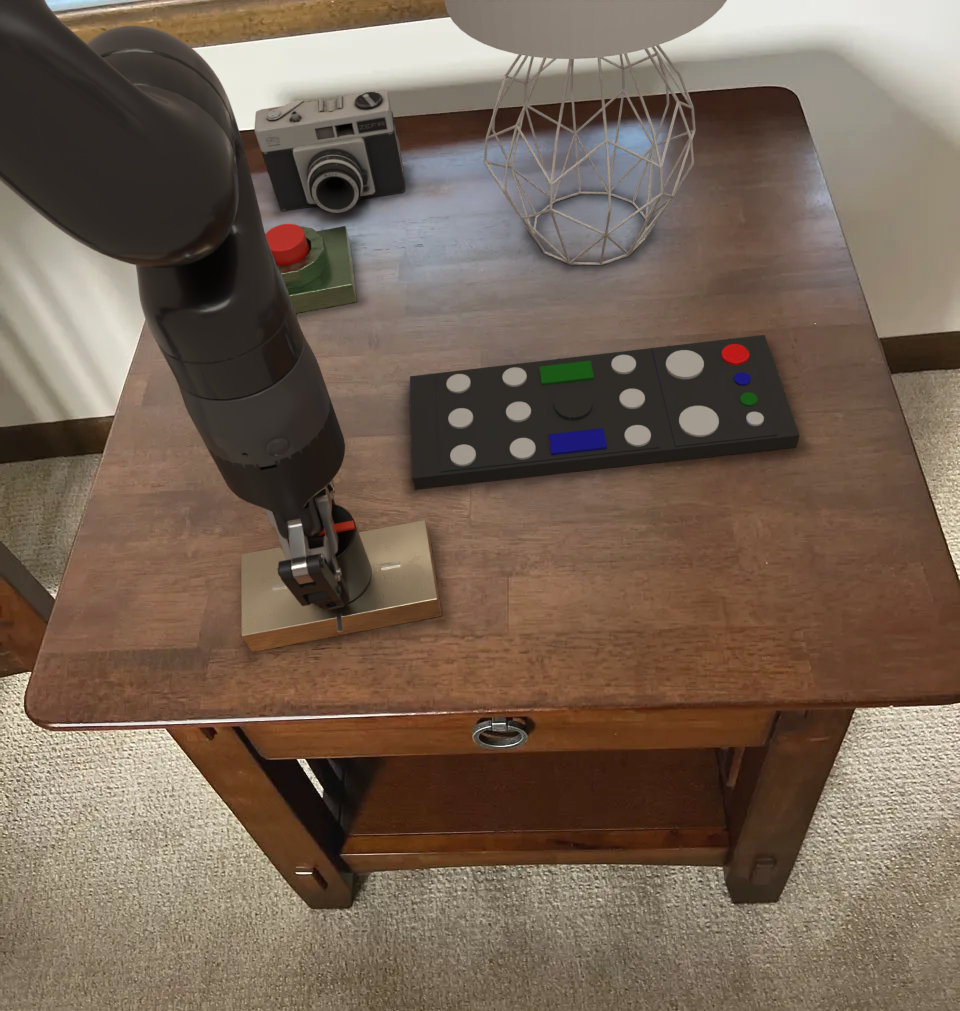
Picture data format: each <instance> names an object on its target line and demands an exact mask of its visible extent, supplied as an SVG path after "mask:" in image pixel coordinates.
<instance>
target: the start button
mask: <svg viewBox="0 0 960 1011" xmlns="http://www.w3.org/2000/svg"><path fill="white" fill-rule="evenodd" d="M301 227H302V226H299V225H298V224H296V223H295V224H294V223H282V224H278V225H276V226H273V227H272V228H270V229H269V230H267V231H266V232H265V235H266V238H267V241H268V244H269V247H270V249H271V252H272V255H273V257H274V260H275V263H276V265H279V266H284V265H290V264H295V263H297V262H299V261H300V260H302V259H304V258H305V257H306V256H307V254H308V252H309V246H308V242H307V239H306V236H305V233H304V230H303V229H302V228H301Z"/></svg>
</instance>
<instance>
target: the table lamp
mask: <svg viewBox="0 0 960 1011" xmlns="http://www.w3.org/2000/svg"><path fill="white" fill-rule="evenodd" d="M727 1H728V0H444V4H445V9H446V12H447V14H448V16H449V18H450V19H451V21H452V23H453V24H454V25H455V26H456V27H457V28H458V29H459V30H460V31H462V33H464V34H466V35H467V36H469V37H470V38H471V39H474V40H476V41H478V42H479V43H481V44H483V45H486V46H488V47H490V48H494V49H496V50H499V51H503V52H506V53H511V54H514V55H517V57H515V59H514V61H513V62H512V64H511V65H510V66H509V68H508V70H507V71H506V73H505V74H504V77H503V78H502V82H501V85H500V88H499V90H498V93H497V96H496V99H495V102H494V105H493V107H492V109H493V110H492V116H491V119H490V122H489V126H488V129H487V132H486V136H485V138H484V149H483V150H484V152H483V163H484V165H485V168H487V170H488V171H489V173H490V175H491V176H492V178H493V179H494V180H495V183H496V185H497V186H498V187H499V189H500V190H501V192H502V194H503V195H504V197H505V198H506V199H507V201H508V203H509V204H510V206H511V207H512V209H513V210H514V211H515V213H516V214H517V216H518V217H519V219H520V220H521V222H522V223H523V225H524V226H525V228H526V229H527V232H528V233H529V234H530V235H531V236H532V238H533V239H534V241H535V242H536V244H537V246H538V247H539V249H540V250H541V251H542V253H543V254H544V255H547V256H549V257H551V258H553V259H555V260H558V261H560V262H563V263H564V264H567V265H576V266H577V265H579V266H580V265H581V266H603V265H606V264H609V263H613V262H614V261H617V260H620V259H623V258H628V257H629V256H630V255H631V254H633V252H634V251H636V250H637V248H638V247H640V246H641V244H643V242H645V241H646V239H647V237H648V236H649V235H650V233H651V231H652V230H653V229H654V228H655V226H656V225H657V223H658V221H659V220H660V218H661V217H662V216H663V214H664V212H665V211H666V210H667V208H668V207H669V205H670V204H671V202H672V201H673V199H674V198H675V195H676V194H677V192H678V191H679V189H680V188H681V186H682V184H684V181H685V179H686V178H687V176H688V175H689V173H690V171H691V170H692V169H693V167H694V165H695V156H694V146H693V139H694V137H695V134H696V132H697V131H696V130H697V129H696V118H695V107H694V104H693V101H692V100H691V97H690V93H689V91H688V89H687V86H686V83H685V81H684V78H683V74H681V72H680V71H679V70H678V68H677V67H676V66H675V64H674V63H673V62H672V60H671V59H670V58H669V56H668V55H667V54H666V52H665V51H664V49H663V48H662V46H660V45H662V44H665V43H667V42H670V41H671V42H672V41H673V40H675V39H678V38H680V37H682V36H684V35H686V34H689V33H690V32H692V31H693V30H695V29H697V28H698V27H701V26H702V25H703V24H705V23H706V22H707V21H709V20H710V19H711V18H712V17H714V16H715V15H716V14H717V13H718V12H719V11H720V10H721V9H722V8H723V6H724V5H725V4H726V3H727ZM650 48H651V49H652V51H653V52H654V53H651V51H650V50H649V49H650ZM642 50H644V51H645V53H646V54H647V56H645V57H642V58H641V59H639V60H636V61H634V62H632V63H631V61H630V58H629V55H628V54H629V53H634V52H638V51H642ZM618 55H619V60H620V61H619V62H620V65H619V64H618V63H616V62H614V61H612V60H609V59H608V58H607V57H615V56H618ZM661 55H662V56H661ZM522 56H524V58H523V59H522V61H521V63H520V64H519V66H518V68H517V69H516V71H515V73H514V74H513V76H512V77H511V76H509V75H510V74H511V72H512V70H513V69H514V68H515V66H516V64H517V63H518V61H519V60H520V59H521V57H522ZM623 56H624V59H625V61H626V63H627V65H625V64H624V59H623ZM529 57H530V61H529V65H528V68H527V73H526V77H525V80H521V79H518V78H517V76H518V74H519V72H520V71H521V69H522V68H523V66H524V64H525V63H526V62H527V59H528V58H529ZM655 57H656V58H657V61H658V63H657V62H656V59H655ZM663 57H664V58H663ZM534 58H541V59H542V60H541V63H540V65H539V68H538V70H537V71H536V72H535V73H534V74H533V75H532V76H531V77H530V74H531V70H532V66H533V63H534ZM547 59H549V60H550V61H548V62H547V63H546V61H547ZM583 59H586V60H587V59H597V67H598V77H599V86H600V87H599V88H600V89H599V90H600V97H601V98H600V100H601V108H600V109H599V110H598V111H597V112H595V113H594V114H593V115H592V116H591V117H590V118H588V120H587V121H586V122H584V123H583V124H582V125H581V126H580V127H579V128H578V129H577V124H576V110H575V99H574V97H575V96H574V64H575V63H574V62H575V60H583ZM664 59H665V60H664ZM557 60H568V63H567V69H566V75H565V80H564V86H563V91H562V98H561V103H560V107H559V108H560V109H559V115H558V119H557V121H556V120H555V119H553V118H551V117H550V116H548V115H546V114H544V113H543V112H541V111H540V110H537V108H536V109H535V108H534V107H533V106H531V105H528V103H529V101H530V99H531V97H532V94H533V92H534V90H535V87H536V86H537V85H536V84H537V83H538V80H539V77H540V75H541V73H542V72H543V71H544V70H545V69H547V68H548V67H549V66H550V65H552V64H553V63H554V62H555V61H557ZM647 60H650V61H651V63H652V64H653V66H654V68H655V69H656V70H657V73H658V74H659V77H660V78H661V80H662V81H663V83H664V84H665V98H666V105H665V109H664V111H663V114H662V117H661V119H660V123H659V126H658V128H657V132H656V133H655V129H654V125H653V121H652V119H651V116H650V113H649V110H648V108H647V106H646V102H645V100H644V96H643V94H642V91H641V88H640V86H639V83H638V79H637V77H636V75H635V71H634V69H633V66H636V65H638V64H641V63H643V62H646V61H647ZM602 61H605V62H607V63H608V64H610V65H612V66H614V67H616V68H618V69H619V70H621V86H622V87H621V88H622V89H621V90H620V91H619V92H617V93H616V94H615V95H614V96H613V97H612V98H610V100H609V101H608V102H606V103H605V91H604V79H603V69H602ZM665 61H667V63H668V65H670V67H671V68H672V69H673V71H674V72H675V74H676V75H677V76H678V78H679V82H680V83H679V82H678V80H677V79H676V78H675V76H674V74H673V73H672V71H671V69H670V68H669V67H668V65H667V63H666V62H665ZM658 64H659V65H658ZM627 69H629V72H630V75H631V77H632V80H633V82H634V86H635V89H636V92H637V94H638V96H639V99H640V102H641V105H642V107H643V110H644V113H645V116H646V118H647V121H648V124H649V127H650V132H651V136H650V134H649V132H648V130H647V128H646V126H645V124H644V122H643V121H642V119H641V117H640V115H639V113H638V111H637V110H636V107H635V106H634V104H633V102H632V100H631V98H630V96H629V94H628V93H627V90H626V84H625V82H626V81H625V70H627ZM665 70H666V72H667V73H668V75H669V77H670V78H671V80H672V81H673V83H674V84H675V86H676V88H677V89H678V90H679V91H680V94H681V95H682V96H683V98H684V100H685V102H686V103H685V102H683V101H680V100H679V98H678V96H677V94H676V93H675V91H674V89H673V88H672V86H671V85H670V83H669V81H668V77H667V75H666V72H665ZM507 79H508V80H510V81H509V82H508V84H507V86H506V87H505V84H506V82H507ZM532 80H533V82H532V84H531V87H530V90H529V92H528V84H529V83H530V82H531V81H532ZM569 80H570V100H571V114H572V126H573V130H572V129H570V127H569V128H568V127H567V126H565V125H564V124H562V119H563V115H564V114H563V113H564V107H565V102H566V96H567V90H568V84H569ZM513 82H516V83H520V84H523V85H524V90H523V91H524V96H523V106H522V108H521V111H520V112H519V113H520V114H519V116H518V118H517V121H516V123H515V124H514V125H512V126H510V127H508V128H505V129H503V130H500V131H498V132H496V131H495V128H496V125H495V124H496V116H497V113H498V110H499V107H500V105H501V103H502V101H503V99H504V97H505V96H506V94H507V93H508V91H509V89H510V87H511V86H512V84H513ZM680 84H681V85H680ZM681 86H682V87H681ZM504 87H505V89H504ZM670 94H671V96H672V97H673V99H674V101H675V102H676V103H675V107H674V111H673V114H672V119H671V122H670V126H669V130H668V133H667V136H666V139H665V140H662V141H660V142H657V141H658V139H659V136H660V132H661V129H662V127H663V124H664V121H665V118H666V115H667V113H668V109H669V106H670ZM620 95H621V97H620V104H619V112H618V119H617V126H616V132H615V138H614V141H612V140H609V134H608V123H607V113H606V108H607V107H608V106H609V105H610V104H611V103H613V101H615V100H616V99H617V98H618V97H619V96H620ZM624 97H625V98H626V100H627V101H628V104H629V105H630V107H631V109H632V111H633V113H634V115H635V117H636V119H637V121H638V122H639V124H640V127H641V128H642V130H643V132H644V134H645V136H646V137H647V139H648V141H649V144H650V145H651V146H650V147H649V149H648V150H646V151H645V153H644V154H643V155H640V154H638V153H636V152H634V151H632V150H631V149H628V148H626V147H624V146H622V145H620V144H618V141H619V136H620V135H619V134H620V128H621V127H620V126H621V120H622V112H623V104H624ZM682 106H683V107H686V108H688V109H690V112H691V113H690V114H691V124H692V129H691V130H690V128H689V125H688V122H687V119H686V116H685V113H684V110H683V108H682ZM529 110H530V111H532V112H534V113H536V114H537V115H539V116H541V117H542V118H544V119H546V120H547V121H549V122H551V123H553V124H555V125H556V130H555V131H556V132H555V137H554V145H553V156H552V162H551V163H552V164H551V174H550V176H549V175H548V173H547V170H546V167H545V163H544V160H543V157H542V153H541V151H540V147H539V144H538V140H537V137H536V133H535V130H534V127H533V122H532V119H531V115H530V112H529ZM678 110H679V113H680V116H681V119H682V121H683V124H684V127H685V130H686V132H683V133H680V134H678V135H675V136H672V132H673V128H674V125H675V121H676V118H677V113H678ZM525 113H526V116H527V120H528V124H529V127H530V128H529V129H530V131H531V133H532V135H531V136H532V138H533V141H534V145H535V148H536V151H537V155H538V156H537V155H536V153H535V151H534V149H533V148H532V146H531V145H530V143H529V141H528V140H527V138H526V136H525V134H524V133H523V131H522V127H523V121H524V117H525ZM600 113H602V119H603V120H602V122H603V131H604V140H603V141H602V142H601V143H599V144H598V145H597V146H595V148H593V149H592V150H590V151H589V152H588V151H587V150H586V147H585V146H584V145H583V142H582V140H581V139H580V137H579V135H578V133H580V132H581V131H582V130H583V129H584V128H585V127H586V126H587V125H588V124H590V122H592V121H593V120H594V119H595V118H596V117H597V116H598V115H599V114H600ZM561 128H562V129H563V130H565V131H567V132H569V133H571V134H572V138H571V141H570V143H569V148H568V150H567V154H566V156H565V159H564V163H563V167H562V169H561V172H560V176H558V177H557V178H555V168H556V162H557V151H558V142H559V135H560V129H561ZM511 130H513V133H512V138H511V142H510V146H509V150H508V154H507V153H506V151H505V149H504V147H503V145H502V143H501V140H500V139H499V135H502V134H505V133H507V132H509V131H511ZM491 131H492V134H491ZM685 136H688V139H687V141H686V142H685V144H684V147H683V149H682V151H681V153H680V155H679V157H678V159H677V160H676V162H675V164H674V166H673V168H672V170H671V171H670V173H669V175H668V177H667V179H666V180H665V182H664V180H663V166H664V162H665V159H666V156H667V151H668V147H669V144H670V142H672V141H674V140H676V139H679V138H682V137H685ZM520 137H521V138H522V140H523V141H524V143H525V145H526V147H527V148H528V150H529V152H530V153H531V155H532V157H533V158H534V160H535V162H536V163H537V165H538V167H539V169H540V170H541V172H542V174H543V175H544V177H545V181H546V184H547V187H548V192H549V194H548V193H547V192H546V191H544V190H543V189H542V188H540V187H539V186H537V184H535V183H534V182H533V181H531V180H530V179H529V178H527V177H526V175H523V174H522V173H521V172H520V171H519V170H517V169H516V168H515V167H514V162H515V158H516V154H517V150H518V145H519V140H520ZM651 137H652V138H651ZM493 138H495V140H496V142H497V144H498V146H499V148H500V150H501V153H502V154H503V156H504V158H505V160H506V162H505V164H504V163H498V162H495V161H490V160H487V159H488V147H489V146H488V144H489V140H491V139H493ZM578 144H579V145H580V147H581V149H582V150H583V152H584V156H583V157H582V158H581V159H580V160H579V151H578ZM609 144H610V145H612V146H614V147H613V154H612V159H611V167H610V150H609V148H610V147H609ZM573 145H574V146H575V147H574V150H575V160H576V161H575V164H573V165H572V166H571V167H569V168H568V169H567V170H566V167H567V164H568V162H569V158H570V154H571V151H572V148H573ZM604 145H605V157H606V174H607V186H606V184H605V181H604V180H603V178H602V176H601V175H600V172H599V171H598V169H597V168H596V166H595V164H594V162H593V160H592V158H591V156H592V155H593V154H594V153H596V152H597V151H598V150H599V149H600V148H601V147H603V146H604ZM661 145H664V149H663V152H662V155H661V156H660V152H659V147H658V146H661ZM617 148H618V149H620V150H622V151H624V152H626V153H628V154H630V155H632V156H634V157H635V158H638V160H637V161H636V162H635V163H634V164H633V165H632V166H631V167H630V168H629V170H628V171H626V172H625V174H624V175H622V177H621V178H620V179H619V180H618V181H617V182H616V183H615V184H613V186H612V181H613V175H614V167H615V160H616V154H617ZM689 152H690V161H691V163H690V165H689V166H688V168H687V170H686V171H685V173H684V175H683V176H682V174H683V170H684V168H685V164H686V161H687V159H688V155H689ZM647 155H648V157H647V158H646V156H647ZM655 156H656V159H657V163H656V162H654V159H655ZM538 157H539V158H538ZM682 158H683V159H682ZM586 159H587V160H588V162H589V163H590V165H591V167H592V169H593V170H594V171H595V174H596V175H597V178H598V180H599V181H600V182H601V185H602V187H603V188H604V190H605V191H582V190H581V188H582V187H581V177H580V176H581V175H580V164H582V163H583V162H584V161H585V160H586ZM681 160H682V162H681V166H680V169H679V172H678V174H677V176H676V180H675V184H674V186H673V189H672V193H671V194H669V193H667V192H664V191H665V190H666V187H667V185H668V184H669V182H670V180H671V178H672V176H673V175H674V173H675V171H676V170H677V168H678V166H679V163H680V161H681ZM642 161H644V162H645V165H644V168H643V170H642V172H641V173H642V174H641V176H640V179H639V181H638V184H637V186H636V190H635V192H634V195H633V198H632V200H631V199H628V198H625V197H623V196H620V195H617V194H615V193H612V192H613V191H614V190H615V189H616V188H617V187H618V186H619V185H620V184H621V182H622V181H623V180H624V179H626V177H627V176H628V175H629V174H631V172H632V171H633V170H634V169H635V168H636V167H637V166H638V165H639V164H640V163H641V162H642ZM649 164H650V168H649V175H648V176H649V178H648V187H647V196H646V197H647V198H646V202H645V204H643V205H642V206H641V207H639V206H638V205H637V203H635V201H636V198H637V197H638V193H639V191H640V188H641V185H642V183H643V179H644V177H645V174H646V172H647V169H648V166H649ZM490 165H491V166H496V167H501V168H505V169H504V186H503V185H502V183H501V181H500V180H499V179H498V177H497V176H496V174H495V172H494V171H493V169H492V167H491V166H490ZM654 167H655V168H658V170H659V171H658V172H659V189H660V191H659V193H658V194H657V195H656V196H653V198H651V189H652V180H653V179H652V178H653V169H654ZM575 168H576V173H577V174H576V175H577V182H578V183H577V186H578V191H577V192H575V193H571V194H568V195H565V196H561V197H558V198H557V195H558V192H559V190H560V186H561V182H562V180H563V178H564V177H565V176H567V175H568V174H569V173H570V172H571V171H573V170H574V169H575ZM509 169H510V171H511V174H512V178H513V181H514V185H515V187H516V190H517V193H518V197H519V200H520V202H521V206H522V209H523V212H524V215H525V216H523V215H522V213H521V212H520V210H519V208H518V206H517V205H516V204H515V202H514V200H513V199H512V197H511V195H510V194H509V192H508V191H507V189H508V171H509ZM518 176H519V177H521V178H522V179H523V180H525V181H526V182H527V183H529V184H530V185H531V186H532V187H534V188H535V189H536V190H538V191H539V193H541V194H542V195H544V196H545V197H546V198H548V199H549V204H548V205H546V206H545V207H544V208H543V209H542V210H541V211H538V212H537V211H536V209H535V208H534V206H533V204H532V202H531V200H530V198H529V196H528V195H527V193H526V190H525V188H524V186H523V185H522V183H521V181H520V179H519V177H518ZM681 176H682V178H681ZM554 178H555V179H554ZM680 179H681V180H680ZM555 184H556V188H555V191H554V185H555ZM521 191H522V193H523V195H524V198H525V199H526V201H527V203H528V206H529V208H530V209H531V211H532V213H531V214H528V211H527V208H526V205H525V202H524V198H523V196H522V193H521ZM578 195H607V204H608V205H607V209H608V210H607V216H606V224H605V229H604V231H602V230H600V229H598V228H595V227H594V226H591V225H589V224H586V223H584V222H582V221H581V220H578V219H576V218H573V217H571V216H569V215H567V214H565V213H562V212H561V211H558V210H556V209H554V208H553V207H554V206H553V204H555V203H558V202H560V201H563V200H566V199H568V198H571V197H575V196H578ZM612 197H615V198H617V199H620V200H622V201H625V202H627V203H630V204H632V205H633V206H634V207H635V209H637V210H636V211H634V212H632V213H631V214H630V215H629V216H627V217H626V218H624V219H623V220H622V221H621V222H619V223H618V224H616V225H615V226H614V227H612V228H611V229H610V230H609V227H610V222H611V221H610V220H611V214H612ZM662 197H667V199H666V200H665V201H664V202H662V203H661V204H660V205H659V203H660V201H661V199H662ZM650 198H651V199H650ZM651 204H652V206H651V208H650V205H651ZM658 205H659V206H658ZM643 210H645V213H644V212H643ZM658 211H659V212H658ZM657 212H658V213H657ZM546 213H550V215H551V218H552V222H553V225H554V227H555V228H554V229H555V231H556V234H557V236H558V239H559V243H560V244H561V248H562V249H563V252H564V255H565V256H564V255H563V253H562V252H561V251H559V250H558V249H557V248H556V247H555V246H554V245H553V244H552V243H551V242H550V241H548V239H547V238H545V237H544V236H543V235H542V234H541V233H540V232H539V231H538V230H537V229H536V228H537V223H538V218H539V217H540V216H541V215H542V214H546ZM638 213H639V214H640V215H641V216H642V217H643V218H644V224H643V226H642V227H641V228H640V231H639V232H638V234H637V236H636V238H635V239H634V241H633V242H632V245H631V246H630V248H629V249H628V250H627V249H625V248H624V247H623V246H622V245H621V244H619V243H618V242H617V241H616V240H615V239H613V238H612V237H611V236H610V234H611V233H613V232H614V231H615V230H617V229H618V228H620V227H621V226H622V225H624V224H625V223H626V222H628V221H630V220H631V219H632V218H633V217H634V216H636V215H637V214H638ZM656 213H657V214H656ZM555 214H556V215H559V216H561V217H563V218H565V219H568V220H569V221H571V222H575V223H576V224H578V225H581V226H583V227H585V228H587V229H590V230H592V231H594V232H596V233H598V234H600V235H601V236H600V237H599V238H597V239H596V240H595V241H593V242H592V243H591V244H590V245H589V246H587V247H586V248H585V249H583V251H581V252H580V253H579V254H577V255H576V256H575V257H573V258H572V259H571V260H570V256H569V253H568V251H567V248H566V245H565V243H564V240H563V237H562V235H561V231H560V229H559V225H558V223H557V219H556V216H555ZM655 214H656V215H655ZM654 215H655V217H654V218H653V219H652V221H651V222H650V220H651V218H652V216H654ZM533 217H534V224H533V226H532V223H531V220H530V218H533ZM648 224H649V225H648ZM536 235H537V236H538V237H539V238H540V239H541V240H542V241H543V242H544V243H546V244H547V245H548V246H549V247H550V248H551V249H552V250H553V251H554V252H555V253H556V254H557V255H558V256H557V255H556V254H553V253H551V252H548V251H546V250H545V248H544V247H543V245H542V244H541V242H540V241H539V239H538V238H537V236H536ZM607 239H608V240H609V241H610V242H612V244H614V245H615V246H616V247H617V248H618V249H620V250H621V251H622V252H623V253H624V254H621V255H618V256H616V257H613V258H610V259H607V260H604V255H605V249H606V243H607ZM602 240H603V242H602V248H601V253H600V259H599V262H591V261H590V262H589V261H586V262H583V261H582V262H581V261H580V262H579V261H577V260H579V258H581V257H582V256H583V255H584V254H586V253H587V252H588V251H590V250H591V249H592V248H593V247H595V246H596V245H597V244H598V243H600V242H601V241H602Z"/></svg>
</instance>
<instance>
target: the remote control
mask: <svg viewBox="0 0 960 1011" xmlns="http://www.w3.org/2000/svg"><path fill="white" fill-rule="evenodd" d="M409 390H410V391H409V395H410V396H409V398H410V400H409V401H410V404H409V405H410V443H411V444H410V446H411V480H412V484H413V488H414V490H422V489H432V488H433V489H434V488H441V487H449V486H459V485H460V486H461V485H467V484H478V483H486V482H494V481H495V482H496V481H503V480H514V479H522V478H523V479H524V478H532V477H539V476H540V477H541V476H549V475H550V476H551V475H558V474H566V473H567V474H569V473H577V472H585V471H594V470H604V469H612V468H622V467H629V466H630V467H631V466H639V465H640V466H641V465H648V464H657V463H659V464H660V463H667V462H675V461H676V462H677V461H684V460H693V459H704V458H711V457H721V456H730V455H731V456H732V455H738V454H739V455H740V454H748V453H749V454H750V453H756V452H757V453H758V452H766V451H775V450H783V449H795V448H797V446H798V442H799V438H800V433H799V430H798V427H797V424H796V421H795V418H794V415H793V413H792V410H791V406H790V404H789V401H788V398H787V395H786V392H785V390H784V386H783V384H782V381H781V378H780V374H779V372H778V369H777V366H776V364H775V360H774V358H773V355H772V352H771V349H770V346H769V343H768V340H767V338H766V335H765V334H760V335H752V336H744V337H743V336H742V337H735V338H734V337H733V338H725V339H717V340H709V341H701V342H691V343H683V344H675V345H667V346H658V347H649V348H640V349H632V350H631V349H630V350H624V351H622V350H621V351H615V352H614V351H613V352H606V353H598V354H589V355H581V356H572V357H563V358H555V359H547V360H545V359H544V360H538V361H537V360H536V361H529V362H520V363H511V364H503V365H494V366H486V367H477V368H468V369H461V370H454V371H444V372H435V373H426V374H418V375H411V376H409Z"/></svg>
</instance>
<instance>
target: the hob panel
mask: <svg viewBox="0 0 960 1011" xmlns="http://www.w3.org/2000/svg"><path fill="white" fill-rule="evenodd" d="M358 532H359V535H360V538H361V540H362V543H363V546H364V548H365V551H366V554H367V556H368V559H369V562H370V565H371V577H370V580H369V583H368V585H367V587H366V588H365V590H364V591H363V592H362V593H361V594H360V595H359V596H358V597H357V598H355V599H354V600H352V601H350V602H349V603H348V604H346V605H344V607H340V608H335V609H329V610H323V609H322V608H320V607H319V606H318V604H316V603H313V604H310V605H307V606H302V605H301V604H300V603H299V602H298V600H297V599H296V598H295V597H294V595H293V594H292V593H291V592H290V590H289V589H288V588H287V586H286V585H285V584H284V583H283V581H282V580H281V578H280V576H279V575H278V563H279V561H284V560H286V559H285V556H284V553H283V551H282V548H281V546H279V547H274V548H269V549H263V550H257V551H252V552H246V553H242V554H241V555H240V562H241V563H240V572H241V573H240V574H241V575H240V582H241V584H240V586H241V587H240V593H241V594H240V595H241V596H240V598H241V600H240V604H241V606H240V607H241V608H240V609H241V610H240V611H241V612H240V613H241V615H240V616H241V618H240V623H241V624H240V626H241V627H240V628H241V630H240V631H241V632H240V634H241V636H240V637H242V639H243V641H244V642H245V644H246V645H247V646H248V649H249V650H250V651H251V653H255V652H259V651H264V650H265V651H266V650H271V649H275V648H282V647H285V646H292V645H296V644H297V645H298V644H302V643H307V642H313V641H319V640H323V639H328V638H334V637H339V636H345V635H350V634H354V633H360V632H365V631H371V630H376V629H380V628H386V627H390V626H392V627H393V626H397V625H402V624H406V623H412V622H418V621H423V620H428V619H435V618H438V617H442V616H443V614H442V613H443V612H442V607H441V606H442V605H441V601H440V594H439V588H438V580H437V574H436V567H435V561H434V554H433V547H432V542H431V537H430V536H431V535H430V533H429V528H428V525H427V521H426V519H421V520H416V521H411V522H406V523H400V524H395V525H390V526H385V527H380V528H375V529H374V528H373V529H368V530H364V531H358Z"/></svg>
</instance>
